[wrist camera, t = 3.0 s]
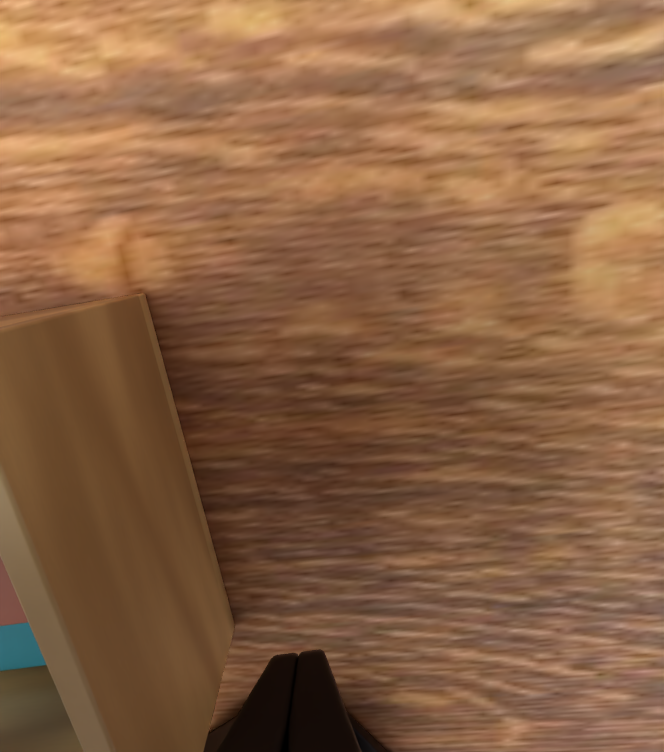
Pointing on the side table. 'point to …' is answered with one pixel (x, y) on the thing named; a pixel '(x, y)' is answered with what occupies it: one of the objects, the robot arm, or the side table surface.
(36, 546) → the wooden box
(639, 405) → the side table surface
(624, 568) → the side table surface
